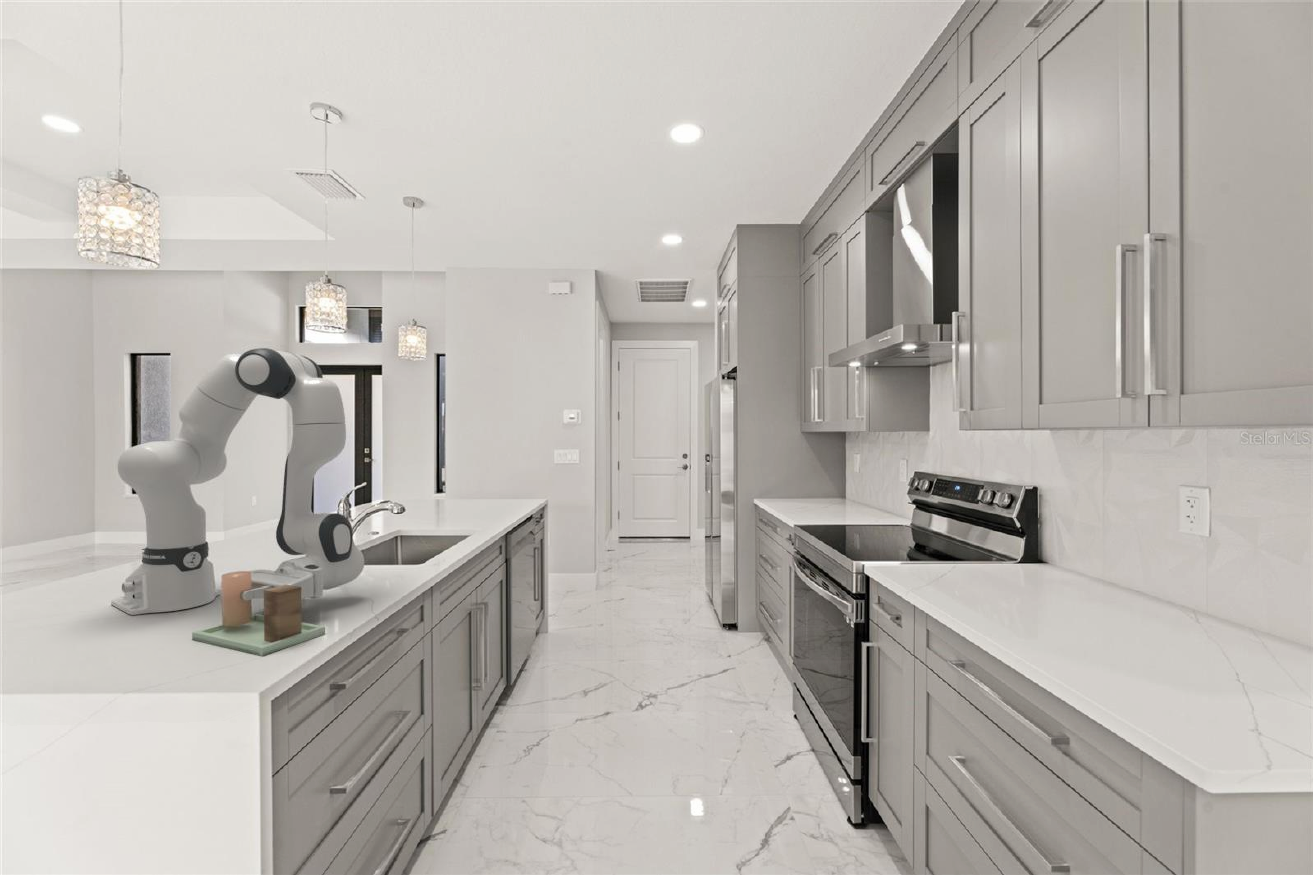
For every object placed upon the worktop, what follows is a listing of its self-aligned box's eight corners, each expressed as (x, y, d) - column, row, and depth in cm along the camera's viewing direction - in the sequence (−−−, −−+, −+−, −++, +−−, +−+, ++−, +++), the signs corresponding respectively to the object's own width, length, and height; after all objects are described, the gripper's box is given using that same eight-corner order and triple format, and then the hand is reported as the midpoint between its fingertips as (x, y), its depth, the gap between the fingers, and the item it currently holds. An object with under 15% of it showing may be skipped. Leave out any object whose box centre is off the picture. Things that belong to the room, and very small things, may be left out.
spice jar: (216, 624, 123) (215, 575, 123) (241, 617, 128) (241, 570, 128) (232, 627, 121) (231, 578, 121) (257, 620, 126) (256, 572, 126)
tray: (192, 639, 120) (192, 632, 120) (257, 620, 132) (257, 613, 132) (262, 656, 112) (262, 648, 112) (325, 633, 124) (325, 626, 124)
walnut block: (264, 640, 118) (263, 590, 118) (286, 633, 122) (285, 584, 122) (279, 644, 116) (279, 592, 116) (301, 636, 120) (301, 586, 120)
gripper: (265, 560, 140) (200, 573, 128) (327, 569, 132) (264, 584, 120) (265, 587, 141) (200, 603, 128) (327, 597, 133) (265, 616, 120)
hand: (232, 594), depth 124 cm, fingers closed on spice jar, 5 cm apart
